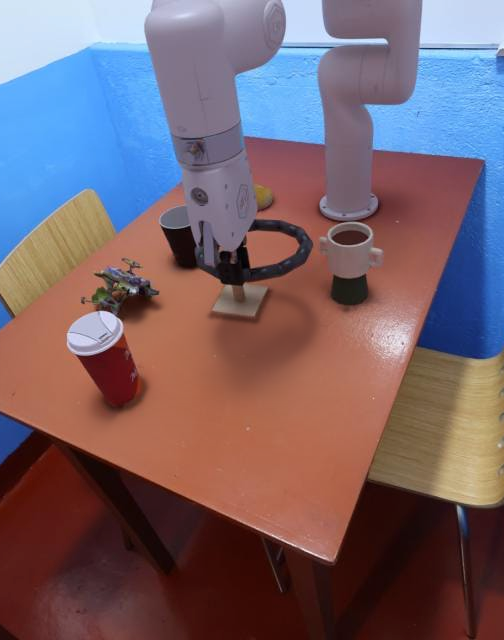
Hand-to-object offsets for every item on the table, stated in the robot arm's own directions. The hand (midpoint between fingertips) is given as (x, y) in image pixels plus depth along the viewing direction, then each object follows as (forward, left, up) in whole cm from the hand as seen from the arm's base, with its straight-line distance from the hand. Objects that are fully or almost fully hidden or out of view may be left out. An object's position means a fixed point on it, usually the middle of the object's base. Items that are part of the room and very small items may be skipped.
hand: (236, 277), depth 62 cm
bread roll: (-48, -16, -17) cm, 53 cm away
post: (-13, -7, -17) cm, 22 cm away
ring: (-7, 0, 0) cm, 7 cm away
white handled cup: (-18, +12, -17) cm, 27 cm away
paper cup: (+10, -18, -17) cm, 26 cm away
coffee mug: (-26, -22, -17) cm, 38 cm away
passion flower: (-8, -28, -17) cm, 33 cm away
